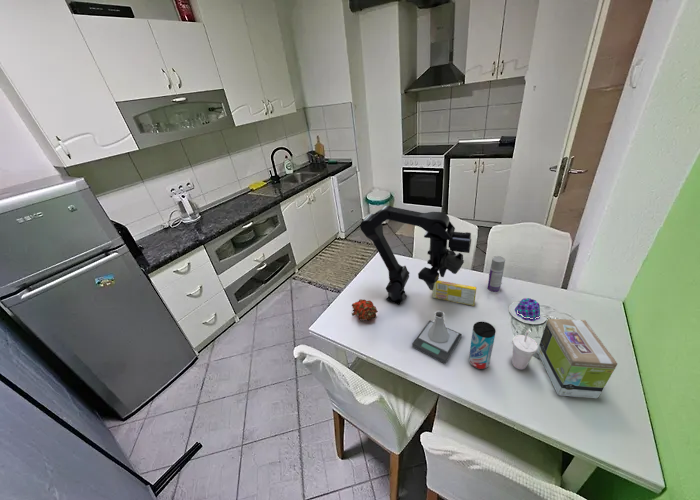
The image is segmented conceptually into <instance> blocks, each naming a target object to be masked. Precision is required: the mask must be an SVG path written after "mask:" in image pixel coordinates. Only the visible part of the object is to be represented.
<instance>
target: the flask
mask: <svg viewBox="0 0 700 500" xmlns="http://www.w3.org/2000/svg"><path fill="white" fill-rule="evenodd" d="M433 315H434V321H433V324H432V326H431V327H430V329H429V332H428V336H429V338H430V340H431V341H435V342H438V343H442V342H447V341H448V338H449V333H448V331H447V328H448V327H447V326H446V324H445V320H444V319H445V318H444V317H445V312H444V311H442V310H436V311H434V314H433ZM446 327H447V328H446Z"/></svg>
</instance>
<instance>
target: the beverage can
mask: <svg viewBox="0 0 700 500" xmlns="http://www.w3.org/2000/svg"><path fill="white" fill-rule="evenodd" d="M496 332H497V331H496V328H495V326H494V325H493V324H492V323H489V322H486V321H477V322H474V324H473V326H472V333H471V339H470V346H469V355H468V361H469V364H470V365H471V366H472V367H473V368H475V369H477V370H485V369H487V368H488V367H489V366H490V363H491V357H492V352H493V348H494V342H495V338H496Z"/></svg>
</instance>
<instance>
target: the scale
mask: <svg viewBox="0 0 700 500" xmlns="http://www.w3.org/2000/svg"><path fill="white" fill-rule="evenodd" d="M433 322H434V321H433V320H429V321H428V322H427V323H426V325H425V326H424V327H423V328H422V330H421V332H420V333H419V334H418V335H417V337H416V338H415V339H414V340H413V342H412V345H411V346H412V348H414V349H415V350H417V351H419V352H421V353H423V354H424V355H427V356H429V357H431V358H432V359H435V360H437V361H439V362H440V363H443V364H445V365H446V364H447V363H448V361H449V359H450V357H451V356H452V354H453V353H454V351H455V349H456V348H457V346H458V344H460V343H459V342H460V341H461V339H462V334H463V333H460V332H458V331H455V330H454V329H451V328H449V327H447V326H446V328H447V331H448V333H449V338H448V341H447V342H442V343H438V342H435V341H431V340H430V338H429V336H428V332H429V329H430V327H431V326H432V324H433Z"/></svg>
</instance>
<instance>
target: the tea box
mask: <svg viewBox="0 0 700 500" xmlns="http://www.w3.org/2000/svg"><path fill="white" fill-rule="evenodd" d="M536 353H537V354H538V356H539V358H540V361H541V362H542V364H543V367H544V369H545V371H546V373H547V375H548V378H549V379H550V381H551V383H552V386H553V388H554V389H555V392H556V394H557V396H561V397H575V398H585V399H586V398H587V399H598V398H599V397H600V396H601V394H602V392H603V390H604V389H605V388H606V385H607V383H608V382H609V380H610V378H611V377H612V375H613V374H614V371H615V370H616V368H617V366H618V362H617V361H616V359H615V358H614V356H613V355H612V353H610V351H609V349H608V348H607V347H606V346H605V344H604V343H603V342H602V341H601V339H600V338H599V337H598V335H597V334H596V333H595V331H594V330H593V328H592V327H591V326H590V324H589V323H588V321H586V320H585V319H566V318H547V320H546V324H545V327H544V330H543V333H542V335H541V339H540V341H539V344H538V350H537V352H536Z"/></svg>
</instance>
